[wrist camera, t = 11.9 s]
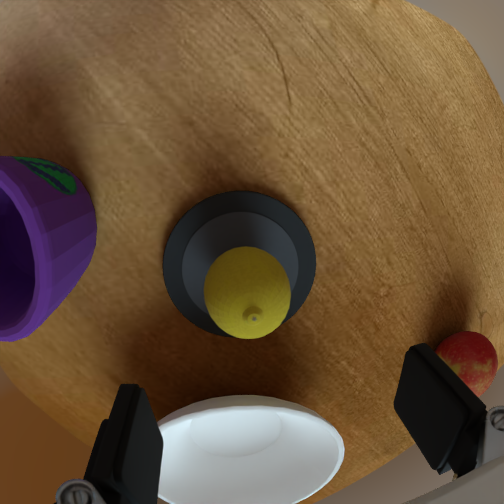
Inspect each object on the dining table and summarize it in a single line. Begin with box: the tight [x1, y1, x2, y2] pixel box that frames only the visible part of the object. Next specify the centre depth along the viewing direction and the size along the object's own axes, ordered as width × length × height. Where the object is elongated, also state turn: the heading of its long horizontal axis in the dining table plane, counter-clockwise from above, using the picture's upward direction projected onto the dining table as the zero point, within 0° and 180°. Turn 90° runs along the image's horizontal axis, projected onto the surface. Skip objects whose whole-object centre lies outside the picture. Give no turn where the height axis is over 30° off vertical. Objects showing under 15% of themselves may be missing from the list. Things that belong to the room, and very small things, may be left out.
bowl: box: [157, 395, 345, 504], centre depth 27 cm, size 20×20×7 cm
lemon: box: [204, 246, 291, 339], centre depth 20 cm, size 6×6×8 cm
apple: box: [434, 331, 498, 397], centre depth 27 cm, size 8×8×8 cm
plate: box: [163, 191, 316, 337], centre depth 25 cm, size 12×12×1 cm
